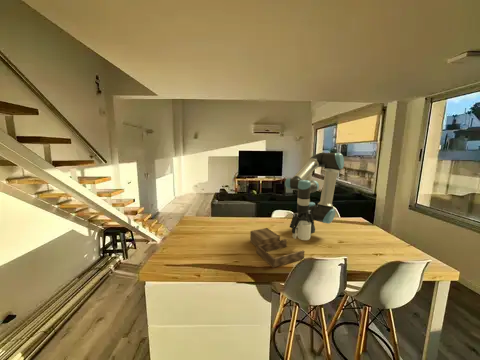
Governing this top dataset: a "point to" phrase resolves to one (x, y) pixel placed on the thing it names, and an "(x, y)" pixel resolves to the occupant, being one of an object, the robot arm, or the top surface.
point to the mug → (304, 230)
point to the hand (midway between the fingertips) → (301, 235)
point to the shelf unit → (272, 247)
